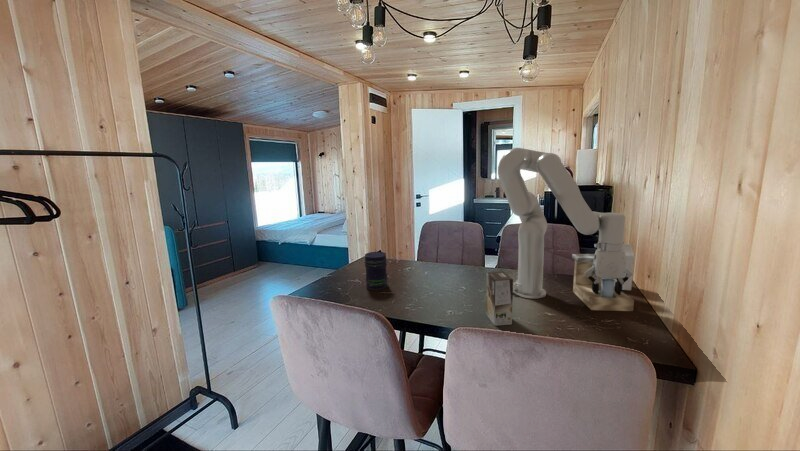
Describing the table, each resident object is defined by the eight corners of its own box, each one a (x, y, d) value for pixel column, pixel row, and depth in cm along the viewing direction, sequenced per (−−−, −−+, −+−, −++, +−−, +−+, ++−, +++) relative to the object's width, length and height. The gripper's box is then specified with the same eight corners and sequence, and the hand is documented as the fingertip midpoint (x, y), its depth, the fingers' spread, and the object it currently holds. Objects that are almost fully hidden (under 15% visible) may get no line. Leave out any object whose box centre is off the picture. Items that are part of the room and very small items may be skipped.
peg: (602, 306, 122) (604, 281, 121) (597, 302, 126) (599, 277, 125) (614, 307, 122) (616, 281, 120) (608, 302, 126) (611, 277, 124)
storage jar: (389, 282, 157) (387, 251, 154) (386, 289, 147) (384, 257, 144) (368, 282, 158) (366, 251, 155) (364, 289, 148) (362, 257, 145)
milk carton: (631, 290, 137) (635, 246, 133) (612, 290, 138) (615, 245, 135) (623, 284, 143) (627, 242, 140) (605, 284, 145) (608, 241, 142)
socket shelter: (588, 309, 120) (591, 267, 118) (570, 290, 138) (572, 254, 136) (636, 311, 118) (640, 268, 115) (611, 291, 136) (614, 254, 133)
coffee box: (512, 324, 111) (514, 279, 109) (494, 326, 111) (495, 280, 108) (502, 313, 120) (503, 270, 118) (485, 314, 120) (485, 271, 117)
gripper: (588, 249, 118) (585, 296, 121) (642, 249, 115) (637, 297, 118) (580, 244, 125) (577, 289, 128) (630, 244, 123) (626, 290, 126)
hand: (606, 292), depth 123 cm, fingers open, 7 cm apart
